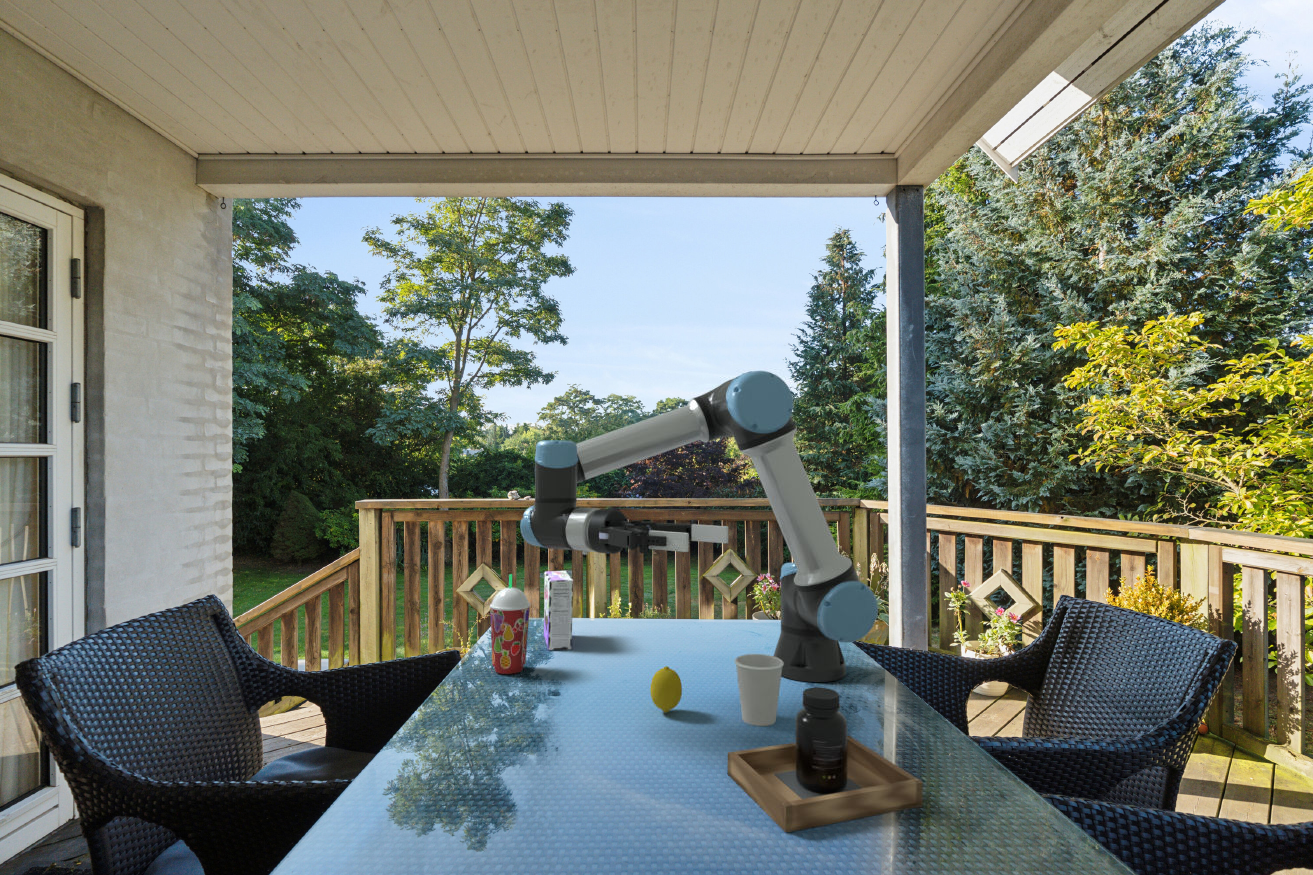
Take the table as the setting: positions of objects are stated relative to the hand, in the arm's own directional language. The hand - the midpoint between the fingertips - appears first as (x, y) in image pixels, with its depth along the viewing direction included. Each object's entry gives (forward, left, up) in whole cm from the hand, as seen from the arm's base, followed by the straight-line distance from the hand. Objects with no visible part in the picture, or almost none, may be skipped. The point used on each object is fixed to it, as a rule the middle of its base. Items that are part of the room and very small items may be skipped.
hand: (708, 538), depth 106 cm
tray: (-9, +17, -32) cm, 38 cm away
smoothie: (+24, -49, -32) cm, 63 cm away
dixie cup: (-13, -8, -32) cm, 36 cm away
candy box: (+10, -68, -32) cm, 76 cm away
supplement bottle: (-9, +17, -31) cm, 37 cm away
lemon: (+1, -16, -32) cm, 36 cm away
